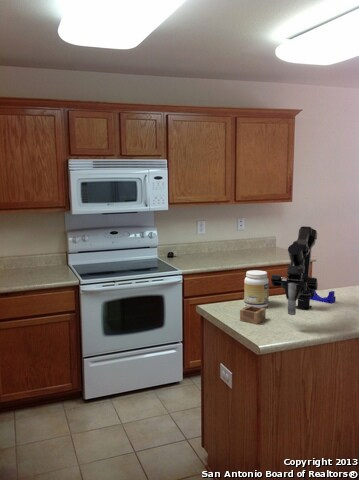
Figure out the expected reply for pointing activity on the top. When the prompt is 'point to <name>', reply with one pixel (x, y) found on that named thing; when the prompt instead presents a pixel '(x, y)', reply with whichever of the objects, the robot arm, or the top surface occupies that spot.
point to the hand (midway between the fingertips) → (291, 299)
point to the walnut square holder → (252, 314)
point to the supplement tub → (256, 289)
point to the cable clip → (329, 299)
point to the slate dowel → (291, 298)
